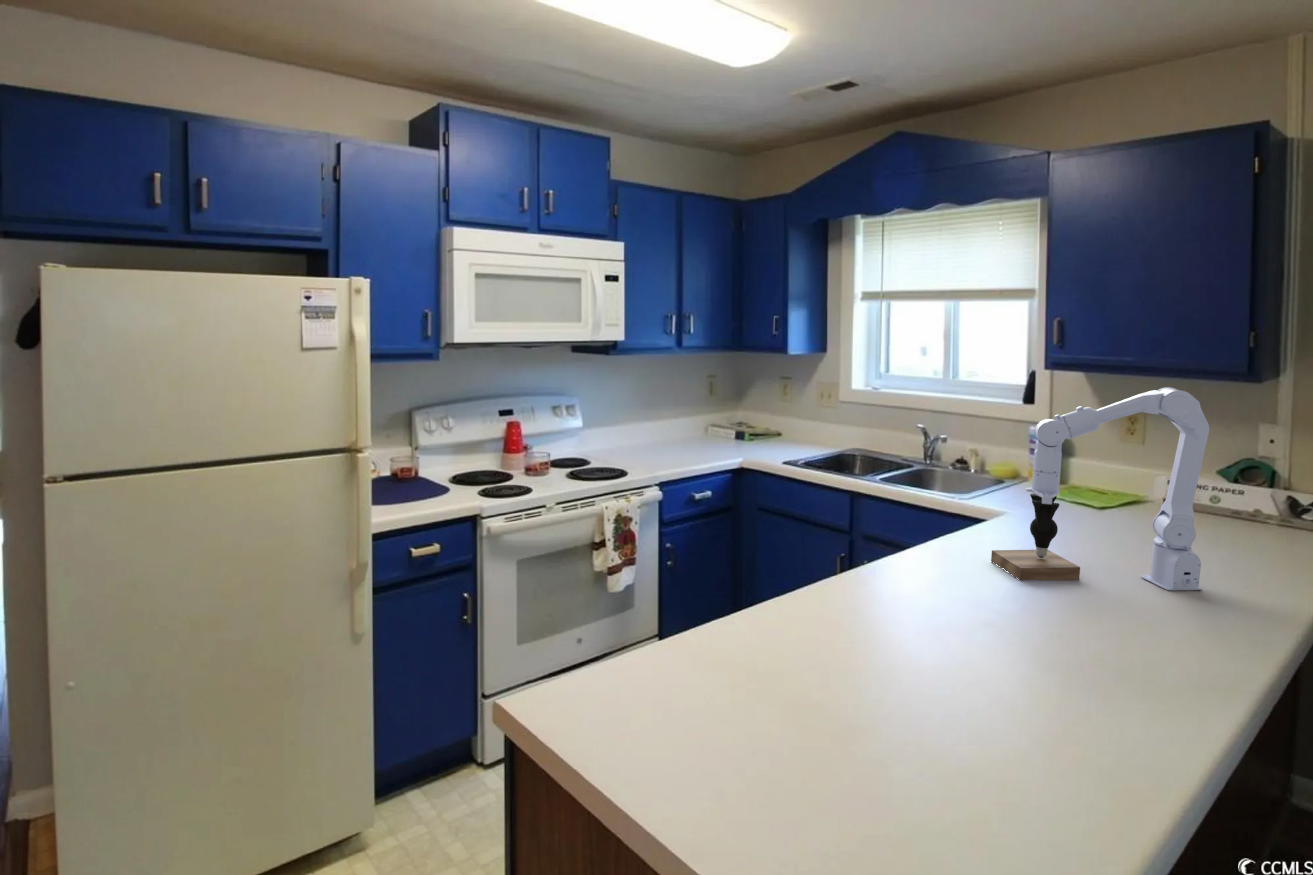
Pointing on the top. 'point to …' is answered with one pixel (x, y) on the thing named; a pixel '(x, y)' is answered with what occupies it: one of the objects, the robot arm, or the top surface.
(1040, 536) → the light bulb
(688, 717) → the top surface
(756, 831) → the top surface
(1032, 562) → the walnut plinth
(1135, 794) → the top surface
